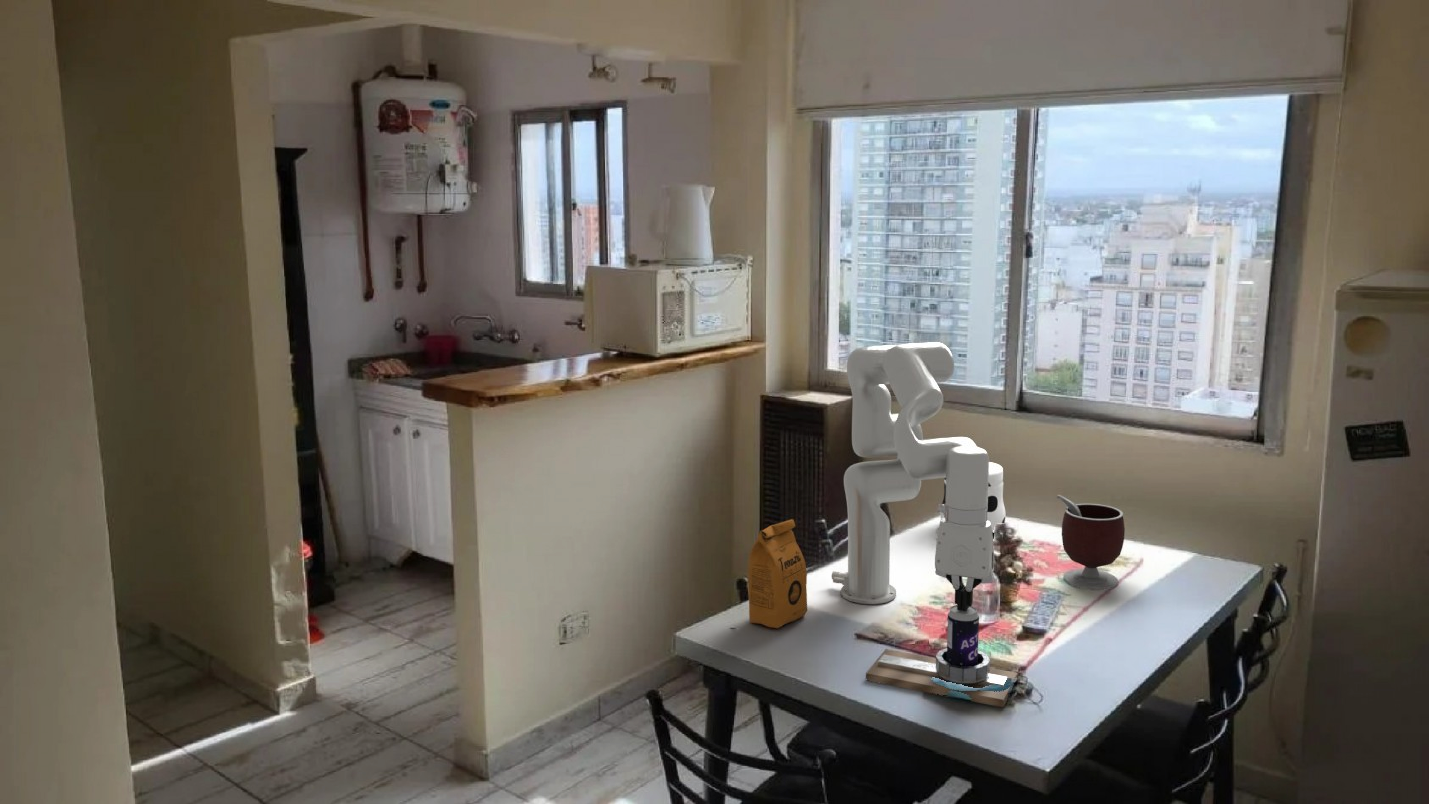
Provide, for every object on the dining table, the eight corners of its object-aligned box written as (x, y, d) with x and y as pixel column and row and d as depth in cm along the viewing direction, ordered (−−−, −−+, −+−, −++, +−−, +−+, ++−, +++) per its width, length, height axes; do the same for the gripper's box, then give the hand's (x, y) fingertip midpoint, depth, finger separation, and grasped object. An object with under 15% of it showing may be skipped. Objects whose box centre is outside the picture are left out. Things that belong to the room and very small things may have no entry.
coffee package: (814, 617, 233) (814, 522, 229) (776, 634, 224) (775, 535, 220) (781, 606, 240) (780, 512, 236) (742, 622, 231) (740, 525, 227)
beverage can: (960, 678, 196) (961, 617, 194) (940, 667, 201) (941, 607, 198) (983, 671, 199) (985, 611, 196) (963, 660, 203) (965, 601, 201)
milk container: (1004, 522, 296) (1006, 460, 293) (1005, 542, 280) (1008, 476, 276) (940, 519, 300) (942, 458, 297) (938, 538, 284) (940, 473, 280)
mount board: (865, 680, 203) (865, 673, 202) (885, 656, 213) (885, 648, 213) (1003, 707, 191) (1003, 699, 190) (1017, 680, 201) (1017, 672, 201)
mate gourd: (1127, 576, 253) (1131, 496, 249) (1114, 595, 242) (1118, 511, 238) (1061, 565, 261) (1064, 487, 258) (1045, 583, 250) (1049, 502, 246)
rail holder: (872, 671, 203) (873, 652, 202) (888, 652, 211) (888, 633, 210) (999, 695, 192) (1000, 675, 191) (1010, 674, 200) (1011, 655, 200)
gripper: (920, 514, 194) (918, 609, 197) (1003, 525, 187) (999, 622, 191) (931, 503, 200) (929, 595, 204) (1012, 513, 194) (1008, 607, 197)
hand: (963, 608), depth 197 cm, fingers closed
